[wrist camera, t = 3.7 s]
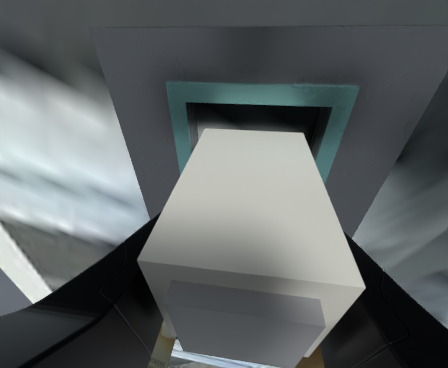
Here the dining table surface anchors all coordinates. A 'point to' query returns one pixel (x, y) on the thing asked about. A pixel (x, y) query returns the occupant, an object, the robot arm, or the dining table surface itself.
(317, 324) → the plug
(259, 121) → the dining table surface
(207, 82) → the socket panel
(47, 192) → the dining table surface
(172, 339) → the skincare box
